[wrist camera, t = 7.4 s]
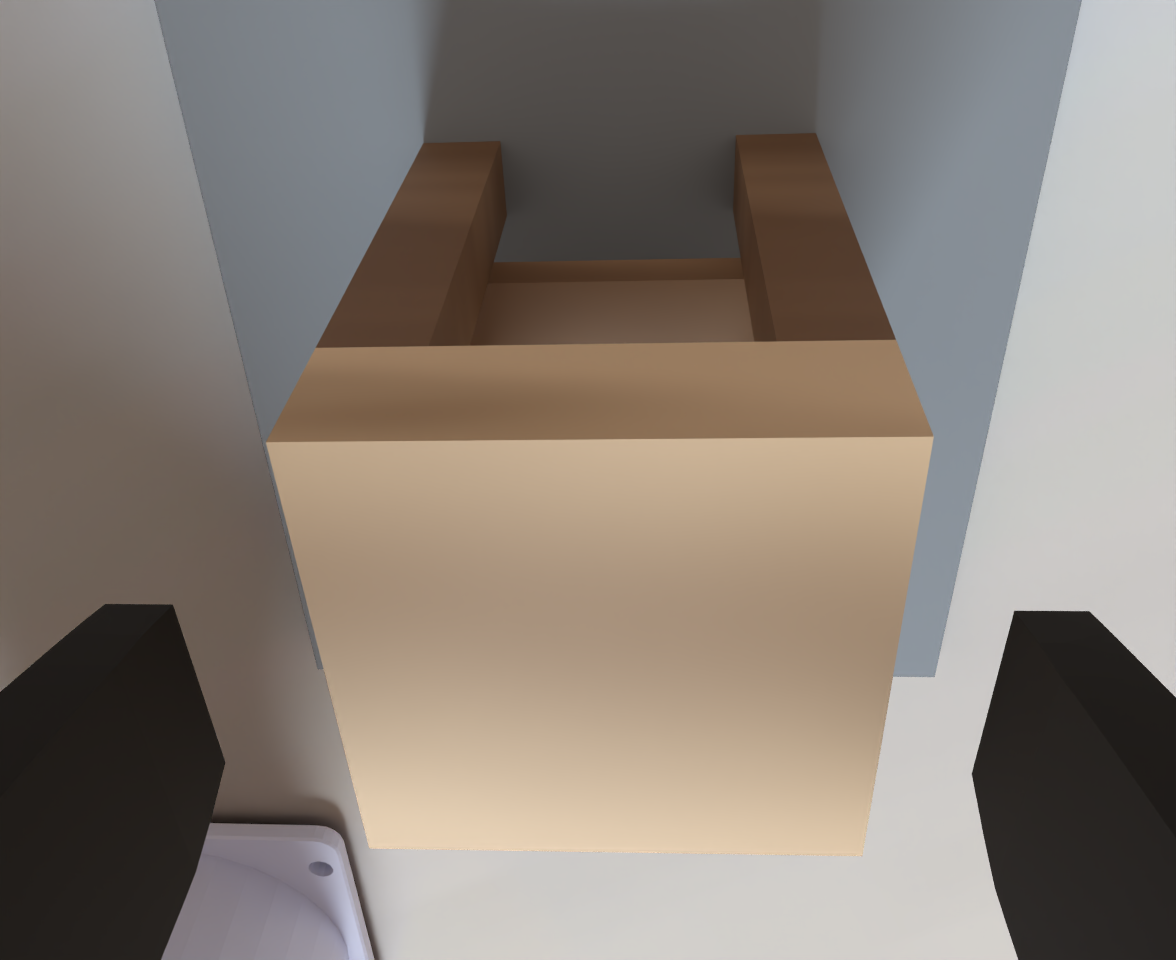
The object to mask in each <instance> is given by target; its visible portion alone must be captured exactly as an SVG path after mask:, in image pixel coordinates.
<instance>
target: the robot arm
mask: <svg viewBox="0 0 1176 960" xmlns="http://www.w3.org/2000/svg"><path fill="white" fill-rule="evenodd" d="M224 765H225V760H224V757H223V754H222V751H221V748H220V745H219V742H218V739H217V736H216V733H215V730H214V727H213V724H212V721H211V718H210V715H209V712H208V709H207V706H206V703H205V700H204V697H203V694H202V691H201V688H200V685H199V682H198V679H197V676H196V673H195V670H194V667H193V664H192V661H191V658H190V655H189V652H188V649H187V646H186V643H185V640H184V637H183V634H182V631H181V628H180V625H179V622H178V619H177V616H176V613H175V610H174V607H173V605H146V604H105V605H104V606H102V607H101V608H100V609H98V610H97V611H96V612H95V613H93V614H92V615H91V616H90V617H88V618H87V619H86V620H85V621H83V622H82V623H81V624H80V625H78V626H77V627H76V628H75V629H74V630H72V631H71V632H70V633H69V634H68V635H66V636H65V637H64V638H63V639H62V640H60V641H59V642H58V643H57V644H56V645H55V646H53V647H52V648H51V649H50V650H49V651H48V652H46V653H45V654H44V655H43V656H42V657H41V658H39V659H38V660H37V661H36V662H35V663H34V664H32V665H31V666H30V667H29V668H28V669H27V670H25V671H24V672H23V673H22V674H21V675H20V676H18V677H17V678H16V679H15V680H14V681H13V682H11V683H10V684H9V685H8V686H7V687H6V688H4V689H3V690H2V691H1V692H0V960H374V956H373V952H372V948H371V944H370V940H369V937H368V933H367V929H366V925H365V921H364V917H363V913H362V909H361V906H360V902H359V898H358V894H357V890H356V886H355V882H354V878H353V875H352V871H351V867H350V863H349V859H348V855H347V851H346V847H345V844H344V840H343V839H342V837H341V835H340V834H339V833H337V832H336V831H335V830H333V829H331V828H329V827H326V826H319V825H280V824H233V823H210V821H211V817H212V813H213V809H214V805H215V801H216V797H217V793H218V789H219V785H220V781H221V777H222V773H223V769H224ZM972 777H973V782H974V787H975V793H976V798H977V803H978V808H979V814H980V819H981V824H982V829H983V834H984V839H985V844H986V848H987V853H988V858H989V862H990V867H991V872H992V876H993V881H994V885H995V889H996V892H997V896H998V899H999V902H1000V905H1001V908H1002V911H1003V914H1004V918H1005V921H1006V924H1007V927H1008V930H1009V933H1010V936H1011V939H1012V942H1013V945H1014V948H1015V951H1016V954H1017V957H1018V960H1176V697H1175V696H1174V695H1173V694H1172V693H1171V692H1170V691H1169V690H1168V689H1167V688H1166V687H1165V686H1164V685H1163V684H1162V683H1161V682H1160V681H1159V680H1158V679H1157V678H1156V677H1155V676H1154V675H1153V674H1152V673H1151V672H1150V671H1149V670H1148V669H1147V668H1146V667H1145V666H1144V665H1143V664H1142V663H1141V662H1140V661H1139V660H1138V659H1137V658H1136V657H1135V656H1134V655H1133V654H1132V653H1131V652H1130V651H1129V650H1128V649H1127V648H1126V647H1125V646H1124V645H1123V644H1122V643H1121V642H1120V641H1119V640H1118V639H1117V638H1116V637H1115V636H1114V635H1113V634H1112V633H1111V632H1110V631H1109V630H1108V629H1107V628H1106V627H1105V626H1104V625H1103V624H1102V623H1101V622H1100V621H1099V620H1098V619H1097V618H1096V617H1095V616H1094V615H1092V614H1091V613H1090V612H1089V611H1014V615H1013V619H1012V622H1011V626H1010V630H1009V634H1008V638H1007V641H1006V645H1005V649H1004V653H1003V657H1002V661H1001V664H1000V668H999V672H998V676H997V680H996V684H995V687H994V691H993V695H992V699H991V703H990V707H989V710H988V714H987V718H986V722H985V726H984V729H983V733H982V737H981V741H980V745H979V749H978V752H977V756H976V760H975V764H974V768H973V772H972Z"/></svg>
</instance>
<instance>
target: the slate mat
mask: <svg viewBox="0 0 1176 960" xmlns="http://www.w3.org/2000/svg"><path fill="white" fill-rule="evenodd" d="M154 1H155V5H156V9H157V13H158V17H159V21H160V25H161V29H162V33H163V37H164V42H165V46H166V50H167V54H168V58H169V62H170V66H171V70H172V74H173V78H174V83H175V87H176V91H177V95H178V99H179V103H180V107H181V111H182V115H183V119H184V123H185V128H186V132H187V136H188V140H189V144H190V148H191V152H192V156H193V160H194V164H195V168H196V173H197V177H198V181H199V185H200V189H201V193H202V197H203V201H204V205H205V209H206V213H207V218H208V222H209V226H210V230H211V234H212V238H213V242H214V246H215V250H216V254H217V259H218V263H219V267H220V271H221V275H222V279H223V283H224V287H225V291H226V295H227V299H228V304H229V308H230V312H231V316H232V320H233V324H234V328H235V332H236V336H237V340H238V344H239V349H240V353H241V357H242V361H243V365H244V369H245V373H246V377H247V381H248V385H249V389H250V394H251V398H252V402H253V406H254V410H255V414H256V418H257V422H258V426H259V430H260V434H261V439H262V443H263V447H264V451H265V455H266V459H267V463H268V467H269V471H270V475H271V480H272V484H273V488H274V492H275V496H276V500H277V504H278V508H279V512H280V516H281V520H282V525H283V529H284V533H285V537H286V541H287V545H288V549H289V553H290V557H291V561H292V565H293V570H294V574H295V578H296V582H297V586H298V590H299V594H300V598H301V602H302V606H303V610H304V615H305V619H306V623H307V627H308V631H309V635H310V639H311V643H312V647H313V651H314V656H315V660H316V664H317V668H318V669H323V665H322V661H321V657H320V653H319V649H318V645H317V641H316V637H315V633H314V629H313V626H312V622H311V618H310V614H309V610H308V606H307V602H306V598H305V594H304V590H303V586H302V582H301V578H300V575H299V571H298V567H297V563H296V559H295V555H294V551H293V547H292V543H291V539H290V535H289V531H288V527H287V523H286V520H285V516H284V512H283V508H282V504H281V500H280V496H279V492H278V488H277V484H276V480H275V476H274V472H273V469H272V465H271V461H270V457H269V453H268V449H267V445H266V441H267V439H268V437H269V435H270V433H271V431H272V430H273V428H274V426H275V424H276V422H277V420H278V418H279V416H280V414H281V412H282V411H283V409H284V407H285V405H286V403H287V401H288V399H289V397H290V395H291V393H292V392H293V390H294V388H295V386H296V384H297V382H298V380H299V378H300V376H301V374H302V373H303V371H304V369H305V367H306V365H307V363H308V361H309V359H310V357H311V355H312V354H313V352H314V350H315V348H316V346H317V344H318V342H319V340H320V338H321V336H322V335H323V333H324V331H325V329H326V327H327V325H328V323H329V321H330V319H331V317H332V316H333V314H334V312H335V310H336V308H337V306H338V304H339V302H340V300H341V298H342V297H343V295H344V293H345V291H346V289H347V287H348V285H349V283H350V281H351V280H352V278H353V276H354V274H355V272H356V270H357V268H358V266H359V264H360V262H361V261H362V259H363V257H364V255H365V253H366V251H367V249H368V247H369V245H370V243H371V242H372V240H373V238H374V236H375V234H376V232H377V230H378V228H379V226H380V224H381V223H382V221H383V219H384V217H385V215H386V213H387V211H388V209H389V207H390V205H391V204H392V202H393V200H394V198H395V196H396V194H397V192H398V190H399V188H400V186H401V185H402V183H403V181H404V179H405V177H406V175H407V173H408V171H409V169H410V167H411V166H412V164H413V162H414V160H415V158H416V156H417V154H418V152H419V150H420V148H421V147H422V145H423V143H449V142H488V141H500V142H501V154H502V165H503V176H504V188H505V199H506V210H507V217H506V221H505V224H504V228H503V231H502V235H501V238H500V242H499V245H498V249H497V252H496V256H495V259H494V262H540V261H593V260H647V259H700V258H741V257H740V251H739V245H738V238H737V232H736V226H735V220H734V214H733V198H734V171H735V145H736V135H759V134H798V133H816V135H817V137H818V140H819V143H820V145H821V148H822V150H823V153H824V155H825V158H826V161H827V163H828V166H829V168H830V171H831V173H832V176H833V179H834V181H835V184H836V186H837V189H838V191H839V194H840V197H841V199H842V202H843V204H844V207H845V209H846V212H847V215H848V217H849V220H850V222H851V225H852V227H853V230H854V233H855V235H856V238H857V240H858V243H859V245H860V248H861V251H862V253H863V256H864V258H865V261H866V263H867V266H868V269H869V271H870V274H871V276H872V279H873V281H874V284H875V287H876V289H877V292H878V294H879V297H880V300H881V302H882V305H883V307H884V310H885V312H886V315H887V318H888V320H889V323H890V325H891V328H892V330H893V333H894V336H895V338H896V341H897V343H898V346H899V348H900V351H901V354H902V356H903V359H904V361H905V364H906V366H907V369H908V372H909V374H910V377H911V379H912V382H913V384H914V387H915V390H916V392H917V395H918V397H919V400H920V402H921V405H922V408H923V410H924V413H925V415H926V418H927V420H928V423H929V426H930V428H931V431H932V433H933V436H934V439H933V444H932V450H931V456H930V462H929V468H928V474H927V480H926V485H925V491H924V497H923V503H922V509H921V515H920V521H919V526H918V532H917V538H916V544H915V550H914V556H913V562H912V567H911V573H910V579H909V585H908V591H907V597H906V602H905V608H904V614H903V620H902V626H901V632H900V638H899V643H898V649H897V655H896V661H895V667H894V673H893V677H935V672H936V668H937V663H938V659H939V654H940V649H941V645H942V640H943V636H944V631H945V626H946V622H947V617H948V613H949V608H950V603H951V599H952V594H953V590H954V585H955V580H956V576H957V571H958V567H959V562H960V557H961V553H962V548H963V544H964V539H965V534H966V530H967V525H968V521H969V516H970V512H971V507H972V502H973V498H974V493H975V489H976V484H977V479H978V475H979V470H980V466H981V461H982V456H983V452H984V447H985V443H986V438H987V433H988V429H989V424H990V420H991V415H992V410H993V406H994V401H995V397H996V392H997V387H998V383H999V378H1000V374H1001V369H1002V364H1003V360H1004V355H1005V351H1006V346H1007V341H1008V337H1009V332H1010V328H1011V323H1012V318H1013V314H1014V309H1015V305H1016V300H1017V295H1018V291H1019V286H1020V282H1021V277H1022V273H1023V268H1024V263H1025V259H1026V254H1027V250H1028V245H1029V240H1030V236H1031V231H1032V227H1033V222H1034V217H1035V213H1036V208H1037V204H1038V199H1039V194H1040V190H1041V185H1042V181H1043V176H1044V171H1045V167H1046V162H1047V158H1048V153H1049V148H1050V144H1051V139H1052V135H1053V130H1054V125H1055V121H1056V116H1057V112H1058V107H1059V102H1060V98H1061V93H1062V89H1063V84H1064V79H1065V75H1066V70H1067V66H1068V61H1069V56H1070V52H1071V47H1072V43H1073V38H1074V34H1075V29H1076V24H1077V20H1078V15H1079V11H1080V6H1081V1H1082V0H154Z"/></svg>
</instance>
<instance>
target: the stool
mask: <svg viewBox="0 0 1176 960" xmlns="http://www.w3.org/2000/svg"><path fill="white" fill-rule="evenodd" d="M733 214H734V220H735V226H736V232H737V238H738V245H739V251H740V257H741V258H700V259H647V260H593V261H540V262H494V259H495V256H496V252H497V249H498V245H499V242H500V238H501V235H502V231H503V228H504V224H505V221H506V217H507V210H506V199H505V188H504V176H503V165H502V154H501V142H500V141H488V142H449V143H423V145H422V147H421V148H420V150H419V152H418V154H417V156H416V158H415V160H414V162H413V164H412V166H411V167H410V169H409V171H408V173H407V175H406V177H405V179H404V181H403V183H402V185H401V186H400V188H399V190H398V192H397V194H396V196H395V198H394V200H393V202H392V204H391V205H390V207H389V209H388V211H387V213H386V215H385V217H384V219H383V221H382V223H381V224H380V226H379V228H378V230H377V232H376V234H375V236H374V238H373V240H372V242H371V243H370V245H369V247H368V249H367V251H366V253H365V255H364V257H363V259H362V261H361V262H360V264H359V266H358V268H357V270H356V272H355V274H354V276H353V278H352V280H351V281H350V283H349V285H348V287H347V289H346V291H345V293H344V295H343V297H342V298H341V300H340V302H339V304H338V306H337V308H336V310H335V312H334V314H333V316H332V317H331V319H330V321H329V323H328V325H327V327H326V329H325V331H324V333H323V335H322V336H321V338H320V340H319V342H318V344H317V346H316V348H315V350H314V352H313V354H312V355H311V357H310V359H309V361H308V363H307V365H306V367H305V369H304V371H303V373H302V374H301V376H300V378H299V380H298V382H297V384H296V386H295V388H294V390H293V392H292V393H291V395H290V397H289V399H288V401H287V403H286V405H285V407H284V409H283V411H282V412H281V414H280V416H279V418H278V420H277V422H276V424H275V426H274V428H273V430H272V431H271V433H270V435H269V437H268V439H267V441H266V445H267V449H268V453H269V457H270V461H271V465H272V469H273V472H274V476H275V480H276V484H277V488H278V492H279V496H280V500H281V504H282V508H283V512H284V516H285V520H286V523H287V527H288V531H289V535H290V539H291V543H292V547H293V551H294V555H295V559H296V563H297V567H298V571H299V575H300V578H301V582H302V586H303V590H304V594H305V598H306V602H307V606H308V610H309V614H310V618H311V622H312V626H313V629H314V633H315V637H316V641H317V645H318V649H319V653H320V657H321V661H322V665H323V669H324V673H325V677H326V680H327V684H328V688H329V692H330V696H331V700H332V704H333V708H334V712H335V716H336V720H337V724H338V728H339V731H340V735H341V739H342V743H343V747H344V751H345V755H346V759H347V763H348V767H349V771H350V775H351V779H352V783H353V786H354V790H355V794H356V798H357V802H358V806H359V810H360V814H361V818H362V822H363V826H364V830H365V834H366V837H367V841H368V845H369V848H373V849H437V850H501V851H565V852H630V853H694V854H758V855H822V856H862V854H863V848H864V843H865V837H866V831H867V825H868V819H869V813H870V807H871V802H872V796H873V790H874V784H875V778H876V772H877V766H878V761H879V755H880V749H881V743H882V737H883V731H884V725H885V720H886V714H887V708H888V702H889V696H890V690H891V684H892V679H893V673H894V667H895V661H896V655H897V649H898V643H899V638H900V632H901V626H902V620H903V614H904V608H905V602H906V597H907V591H908V585H909V579H910V573H911V567H912V562H913V556H914V550H915V544H916V538H917V532H918V526H919V521H920V515H921V509H922V503H923V497H924V491H925V485H926V480H927V474H928V468H929V462H930V456H931V450H932V444H933V439H934V436H933V433H932V431H931V428H930V426H929V423H928V420H927V418H926V415H925V413H924V410H923V408H922V405H921V402H920V400H919V397H918V395H917V392H916V390H915V387H914V384H913V382H912V379H911V377H910V374H909V372H908V369H907V366H906V364H905V361H904V359H903V356H902V354H901V351H900V348H899V346H898V343H897V341H896V338H895V336H894V333H893V330H892V328H891V325H890V323H889V320H888V318H887V315H886V312H885V310H884V307H883V305H882V302H881V300H880V297H879V294H878V292H877V289H876V287H875V284H874V281H873V279H872V276H871V274H870V271H869V269H868V266H867V263H866V261H865V258H864V256H863V253H862V251H861V248H860V245H859V243H858V240H857V238H856V235H855V233H854V230H853V227H852V225H851V222H850V220H849V217H848V215H847V212H846V209H845V207H844V204H843V202H842V199H841V197H840V194H839V191H838V189H837V186H836V184H835V181H834V179H833V176H832V173H831V171H830V168H829V166H828V163H827V161H826V158H825V155H824V153H823V150H822V148H821V145H820V143H819V140H818V137H817V135H816V133H798V134H759V135H736V145H735V171H734V198H733Z"/></svg>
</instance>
